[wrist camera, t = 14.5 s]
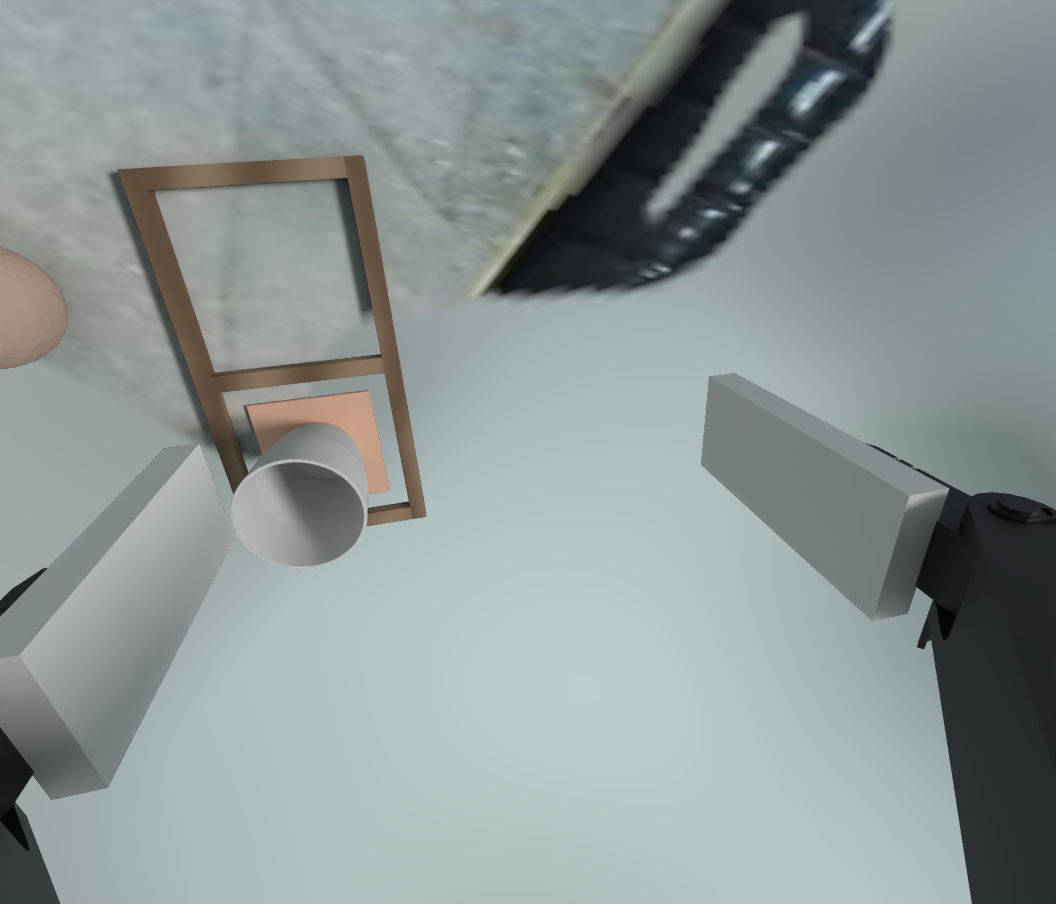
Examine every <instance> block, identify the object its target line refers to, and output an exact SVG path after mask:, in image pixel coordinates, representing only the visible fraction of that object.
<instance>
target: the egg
mask: <svg viewBox="0 0 1056 904" xmlns="http://www.w3.org/2000/svg"><path fill="white" fill-rule="evenodd" d="M67 322H68V314H67V306H66V301H65V299H64V297H63V295H62V293H61V291H60V289H59V287H58V286H57V285H56V283H55V282H54V281H53V279H52V278H51V277H50V276H49V275H48V274H47V273H46V272H45V271H44V270H42V269H41V268H40V267H39V266H38V265H36V264H35V263H33V262H32V261H30V260H28V259H26V258H25V257H23V256H21V255H20V254H18V253H16V252H13V251H10V250H8V249H5V248H2V247H0V369H8V368H13V367H18V366H22V365H25V364H28V363H30V362H33V361H36V360H38V359H40V358H41V357H43V356H45V355H46V354H48V353H49V352H50V351H51V350H52V349H54V348H55V347H56V346H57V345H58V343H59V342H60V340H61V338H62V337H63V335H64V333H65V332H66V327H67Z"/></svg>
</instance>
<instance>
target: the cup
mask: <svg viewBox="0 0 1056 904" xmlns="http://www.w3.org/2000/svg"><path fill="white" fill-rule="evenodd" d="M367 511H368V481H367V476H366V471H365V466H364V462H363V457H362V454H361V452H360V450H359V448H358V446H357V445H356V443H355V442H354V440H353V439H352V437H351V436H350V435H349V434H348V433H347V432H346V431H345V430H344V429H342V428H341V427H339V426H337V425H334V424H331V423H325V422H317V423H311V424H308V425H305V426H303V427H300V428H297V429H295V430H293V431H291V432H289V433H288V434H286V435H285V436H284V437H283V438H281V439H280V440H279V441H278V442H277V443H275V444H274V445H273V446H272V447H271V448H269V449H268V450H267V451H266V452H265V453H264V454H263V455H262V456H261V457H260V459H259V460H258V461H257V463H256V464H255V465H254V467H253V468H252V469H251V470H250V472H249V473H248V474H247V476H246V477H245V478H244V480H243V481H242V482H241V483H240V485H239V486H238V488H237V489H236V491H235V493H234V496H233V499H232V503H231V520H232V524H233V527H234V529H235V532H236V534H237V535H238V537H239V539H240V540H241V541H242V543H243V544H244V545H245V546H246V547H247V548H248V549H249V550H251V551H252V552H253V553H254V554H256V555H257V556H259V557H260V558H262V559H264V560H266V561H268V562H270V563H273V564H276V565H279V566H283V567H288V568H296V569H309V568H317V567H322V566H325V565H329V564H331V563H334V562H336V561H338V560H340V559H342V558H343V557H345V556H346V555H348V554H349V553H350V552H351V551H352V550H353V549H354V548H355V547H356V546H357V545H358V543H359V542H360V540H361V539H362V537H363V535H364V532H365V529H366V525H367Z"/></svg>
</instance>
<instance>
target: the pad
mask: <svg viewBox="0 0 1056 904" xmlns="http://www.w3.org/2000/svg"><path fill="white" fill-rule="evenodd" d="M247 410H248V413H249V416H250V419H251V422H252V425H253V428H254V432H255V435H256V438H257V441H258V444H259V447H260V450H261V454H262V455H263V454H264V453H265V452H266V451H267V450H268V449H269V448H271V447H272V446H273V445H274V444H275V443H277V442H278V441H279V440H280V439H281V438H283V437H284V436H285V435H286V434H288V433H289V432H291V431H293V430H295V429H297V428H300V427H303V426H305V425H308V424H311V423H317V422H325V423H331V424H334V425H337V426H339V427H341V428H342V429H344V430H345V431H346V432H347V433H348V434H349V435H350V436H351V437H352V439H353V440H354V442H355V443H356V445H357V446H358V448H359V450H360V452H361V454H362V457H363V462H364V466H365V471H366V476H367V481H368V494H373V493H379V492H385V491H389V484H388V479H387V475H386V470H385V465H384V460H383V455H382V451H381V446H380V441H379V436H378V431H377V426H376V421H375V416H374V411H373V407H372V402H371V397H370V392H369V390H365V391H357V392H349V393H341V394H333V395H324V396H316V397H308V398H300V399H292V400H284V401H275V402H267V403H259V404H251V405H247Z"/></svg>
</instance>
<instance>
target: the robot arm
mask: <svg viewBox="0 0 1056 904" xmlns="http://www.w3.org/2000/svg"><path fill="white" fill-rule="evenodd" d="M701 465H702V466H703V467H704V468H705V469H706V470H708V472H709V473H710V474H712V475H713V476H714V477H715V478H716V479H717V480H718V481H719V482H720V483H721V484H723V485H724V486H725V487H726V488H727V489H728V490H729V491H730V492H731V493H732V494H734V495H735V496H736V497H737V498H738V499H739V500H740V501H741V502H742V503H743V504H744V505H746V506H747V507H748V508H749V509H750V510H751V511H752V512H754V514H755V515H757V516H758V517H759V518H760V519H761V520H762V521H763V522H764V523H765V524H766V525H767V526H769V527H770V528H771V529H772V530H773V531H774V532H775V533H776V534H777V535H778V536H780V537H781V538H782V539H783V540H784V541H785V542H786V543H787V544H788V545H789V546H791V547H792V548H793V549H794V550H795V551H796V552H797V553H798V554H799V555H800V556H801V557H802V558H804V559H805V560H806V561H807V562H808V563H809V564H810V565H811V566H812V567H813V568H815V569H816V570H817V571H818V572H819V573H820V574H821V575H822V576H823V577H824V578H825V579H827V580H828V581H829V582H830V583H831V584H832V585H833V586H834V587H836V589H838V590H839V591H840V592H841V593H842V594H843V595H844V596H845V597H846V598H847V599H849V600H850V601H851V602H852V603H853V604H854V605H855V606H856V607H857V608H858V609H859V610H861V611H862V612H863V613H864V614H865V615H866V616H867V617H868V618H869V619H870V620H872V621H876V620H880V619H885V618H890V617H894V616H899V615H903V614H908V611H909V608H910V605H911V602H912V599H913V596H914V593H915V590H916V587H917V588H918V589H920V590H921V591H923V592H924V593H925V594H926V595H928V596H929V597H930V598H931V599H933V601H932V604H931V607H930V610H929V612H928V615H927V618H926V621H925V624H924V627H923V629H922V632H921V635H920V638H919V641H918V645H917V647H918V648H921V649H924V648H925V645H926V642H927V641H930V640H931V641H932V648H933V654H934V660H935V667H936V673H937V680H938V687H939V693H940V699H941V706H942V712H943V719H944V725H945V732H946V738H947V745H948V752H949V758H950V764H951V771H952V777H953V784H954V790H955V797H956V803H957V810H958V816H959V823H960V828H961V836H962V842H963V848H964V855H965V862H966V867H967V875H968V881H969V887H970V894H971V900H972V904H1056V510H1054V509H1053V508H1050V507H1049V506H1047V505H1045V504H1042V503H1040V502H1037V501H1034V500H1031V499H1028V498H1025V497H1020V496H1016V495H1011V494H1005V493H993V492H990V493H979V494H976V495H974V496H972V497H971V496H969V495H967V494H966V493H964V492H962V491H960V490H958V489H956V488H954V487H952V486H950V485H948V484H947V483H944V482H943V481H941V480H939V479H937V478H935V477H933V476H932V475H930V474H928V473H926V472H924V471H922V470H920V469H915V468H914V466H913V465H911V464H909V463H907V462H905V461H903V460H898V457H896V456H894V455H892V454H890V453H888V452H886V451H884V450H883V449H881V448H879V447H876V446H873V445H870V444H867V443H864V442H862V441H860V440H858V439H856V438H854V437H852V436H850V435H849V434H847V433H845V432H843V431H841V430H839V429H837V428H836V427H834V426H832V425H830V424H828V423H826V422H824V421H822V420H821V419H819V418H817V417H815V416H813V415H811V414H809V413H808V412H806V411H804V410H802V409H800V408H798V407H797V406H795V405H793V404H791V403H789V402H787V401H785V400H784V399H782V398H780V397H778V396H776V395H774V394H772V393H771V392H769V391H767V390H765V389H763V388H761V387H759V386H757V385H756V384H754V383H752V382H750V381H748V380H746V379H744V378H742V377H741V376H739V375H737V374H735V373H733V374H725V375H717V376H710V377H709V383H708V394H707V405H706V415H705V426H704V438H703V448H702V460H701ZM234 539H235V538H234V535H233V533H232V530H231V527H230V524H229V522H228V519H227V516H226V514H225V511H224V508H223V506H222V503H221V500H220V498H219V495H218V492H217V490H216V487H215V484H214V481H213V479H212V476H211V473H210V471H209V468H208V465H207V463H206V460H205V457H204V455H203V452H202V449H201V447H200V444H192V445H184V446H177V447H169V448H164V449H163V450H162V451H161V452H160V453H159V454H158V456H157V457H156V458H155V459H154V460H153V461H152V462H151V463H150V464H149V465H148V466H147V467H146V468H145V469H144V470H143V471H142V472H141V473H140V474H139V475H138V476H137V477H136V478H135V479H134V480H133V481H132V482H131V483H130V484H129V485H128V486H127V487H126V488H125V489H124V490H123V491H122V493H120V494H119V496H118V497H117V498H116V499H115V500H114V501H113V502H112V503H111V504H110V505H109V506H108V507H107V508H106V509H105V510H104V511H103V512H102V513H101V514H100V515H99V516H98V517H97V518H96V519H95V520H94V521H93V522H92V523H91V524H90V525H89V526H88V527H87V529H85V530H84V531H83V532H82V533H81V535H80V536H79V537H78V538H77V539H76V540H75V541H74V542H73V543H72V544H71V545H70V546H69V547H68V548H67V549H66V550H65V551H64V552H63V553H62V554H61V555H60V556H59V557H58V558H57V559H56V560H55V561H54V562H53V563H52V564H51V565H50V566H49V567H48V568H43V569H42V570H40V571H39V572H37V573H36V574H34V575H33V576H31V577H29V578H28V579H27V580H25V581H23V582H22V583H20V584H19V585H17V586H16V587H14V588H13V589H11V591H10V592H9V593H7V595H5V596H4V597H3V598H2V599H1V600H0V904H60V902H59V899H58V897H57V894H56V891H55V889H54V886H53V884H52V881H51V878H50V876H49V873H48V871H47V868H46V865H45V863H44V860H43V858H42V855H41V852H40V850H39V847H38V845H37V842H36V839H35V837H34V834H33V832H32V829H31V827H30V824H29V821H28V819H27V816H26V815H25V814H24V812H23V811H22V810H21V809H20V807H19V806H18V805H17V804H16V802H15V801H16V799H17V798H18V796H19V795H20V793H21V792H22V790H23V789H24V787H25V786H26V784H27V783H28V781H29V779H30V778H31V776H32V775H33V776H34V778H35V779H36V780H37V782H38V783H39V784H40V786H41V787H42V788H43V789H44V791H45V792H46V794H47V795H48V796H49V798H50V799H51V800H53V799H59V798H63V797H68V796H72V795H77V794H82V793H86V792H91V791H95V790H100V789H105V788H108V787H109V785H110V783H111V781H112V779H113V777H114V775H115V773H116V771H117V769H118V767H119V765H120V763H121V761H122V759H123V757H124V755H125V753H126V751H127V749H128V747H129V745H130V743H131V741H132V739H133V738H134V736H135V734H136V731H137V729H138V728H139V726H140V724H141V722H142V720H143V718H144V716H145V714H146V712H147V710H148V708H149V706H150V704H151V702H152V700H153V698H154V696H155V694H156V692H157V690H158V688H159V686H160V684H161V683H162V681H163V679H164V677H165V674H166V672H167V671H168V669H169V667H170V665H171V663H172V661H173V659H174V657H175V655H176V653H177V651H178V649H179V647H180V645H181V643H182V641H183V639H184V637H185V635H186V633H187V631H188V630H189V628H190V625H191V624H192V622H193V620H194V617H195V616H196V614H197V612H198V610H199V608H200V606H201V604H202V602H203V600H204V598H205V596H206V594H207V592H208V590H209V588H210V586H211V584H212V582H213V580H214V578H215V577H216V574H217V573H218V570H219V569H220V567H221V565H222V563H223V561H224V559H225V557H226V555H227V553H228V551H229V549H230V547H231V545H232V543H233V541H234Z"/></svg>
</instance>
